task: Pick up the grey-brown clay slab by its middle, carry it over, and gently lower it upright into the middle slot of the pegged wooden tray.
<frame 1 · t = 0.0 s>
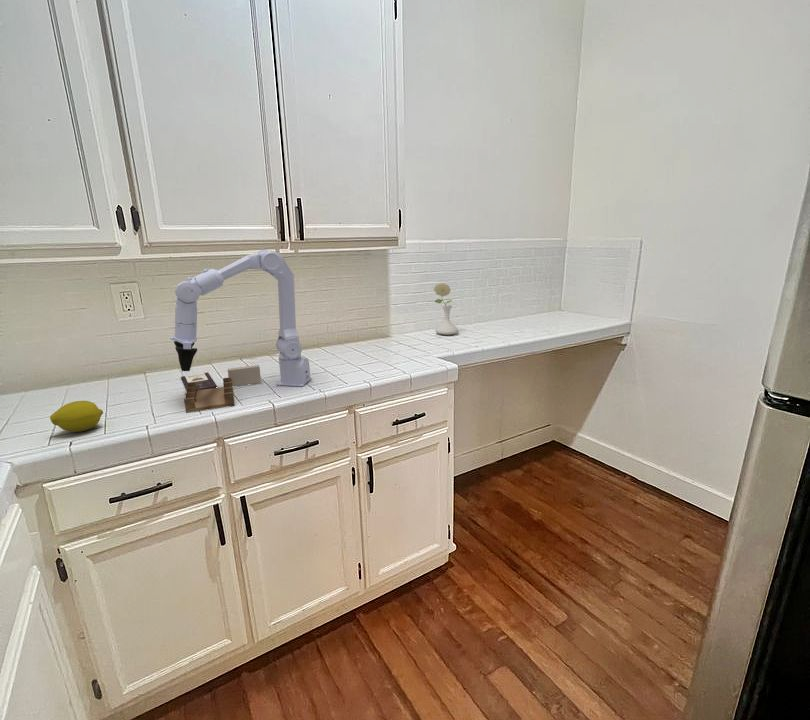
hand: (184, 367, 131), 11 cm above the countertop, tool pointing down, fingers open, 7 cm apart
pegged wooden tray: (211, 399, 134), on the countertop
chocolate bar: (198, 384, 150), on the countertop
flower in vase: (445, 334, 216), on the countertop
lemon: (81, 431, 114), on the countertop
clay slab: (245, 384, 148), on the countertop
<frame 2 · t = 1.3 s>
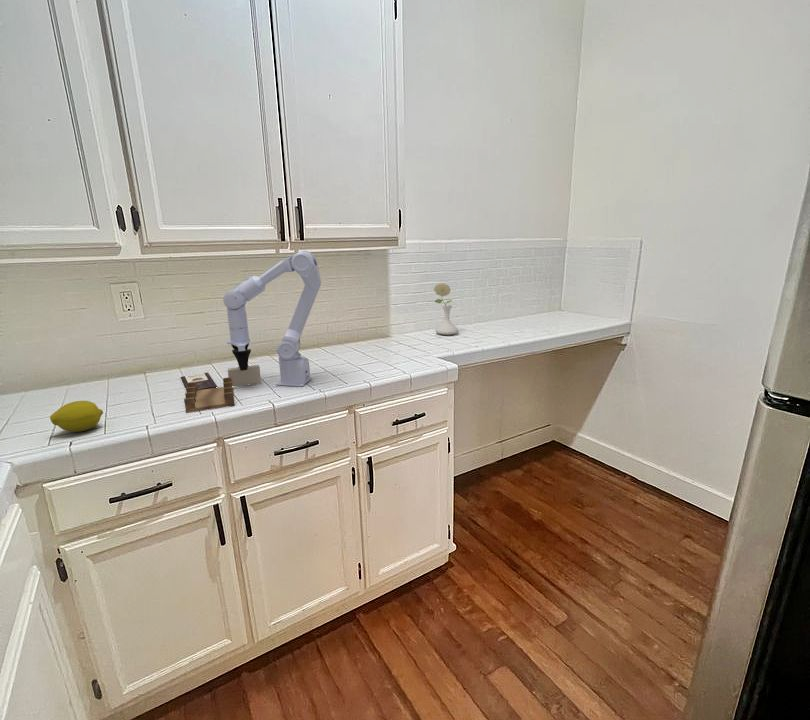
hand: (243, 366, 146), 6 cm above the countertop, tool pointing down, fingers open, 7 cm apart
nothing on the countertop moved.
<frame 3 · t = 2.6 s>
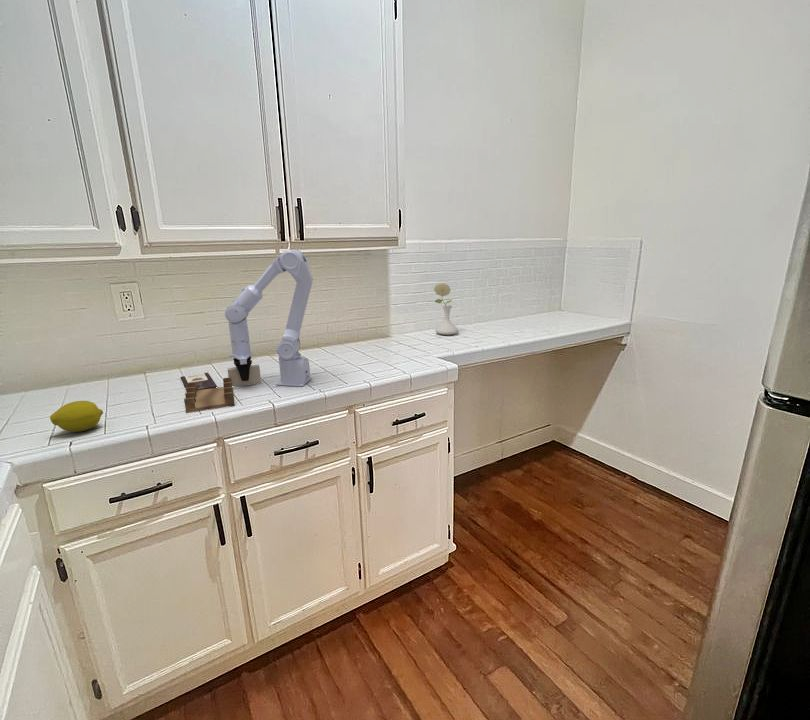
hand: (244, 379, 147), 2 cm above the countertop, tool pointing down, fingers closed on clay slab, 2 cm apart
clay slab: (245, 384, 148), on the countertop, touching gripper
everything else where it was.
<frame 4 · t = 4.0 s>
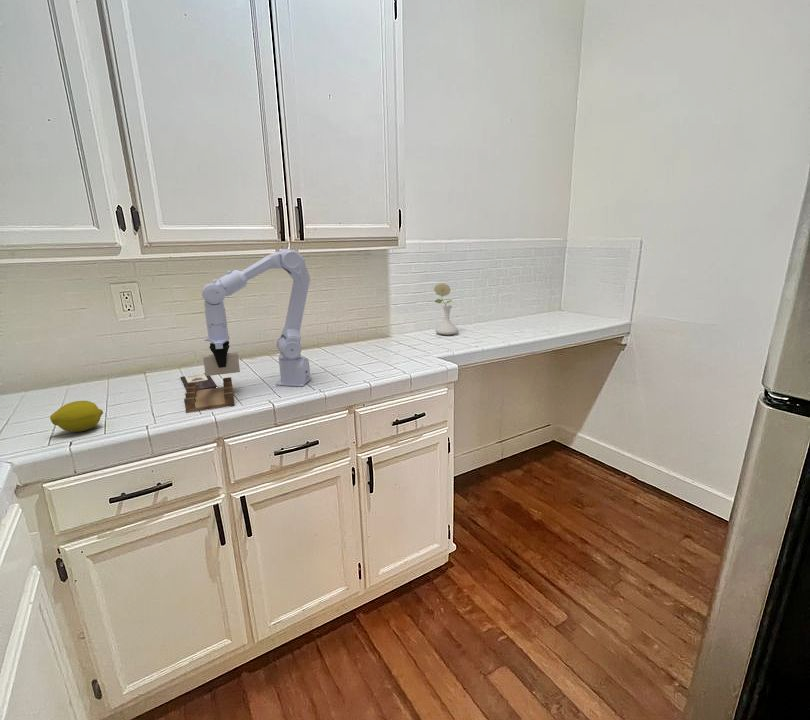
hand: (222, 365, 137), 9 cm above the countertop, tool pointing down, fingers closed on clay slab, 2 cm apart
clay slab: (223, 373, 138), point 7 cm above the countertop, touching gripper
everything else where it was.
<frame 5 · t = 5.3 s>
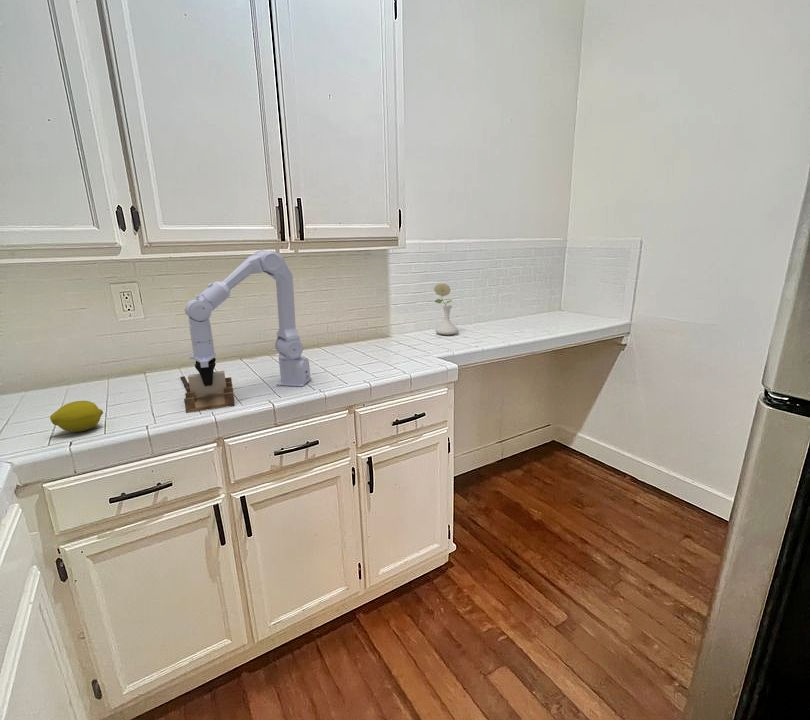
hand: (208, 383, 133), 5 cm above the countertop, tool pointing down, fingers closed on clay slab, 2 cm apart
clay slab: (209, 392, 133), point 2 cm above the countertop, touching gripper
everything else where it was.
when the fingers open (4 cm above the countertop, at t = 5.9 s): clay slab stays where it is, resting on pegged wooden tray.
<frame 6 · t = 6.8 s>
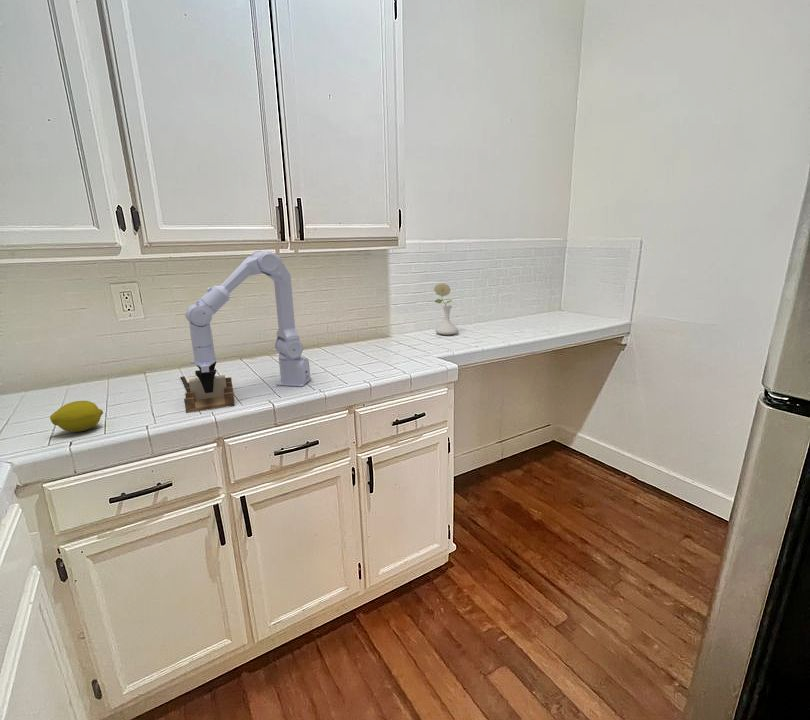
hand: (209, 388, 133), 4 cm above the countertop, tool pointing down, fingers open, 7 cm apart
clay slab: (210, 396, 134), point 1 cm above the countertop, touching pegged wooden tray
everything else where it was.
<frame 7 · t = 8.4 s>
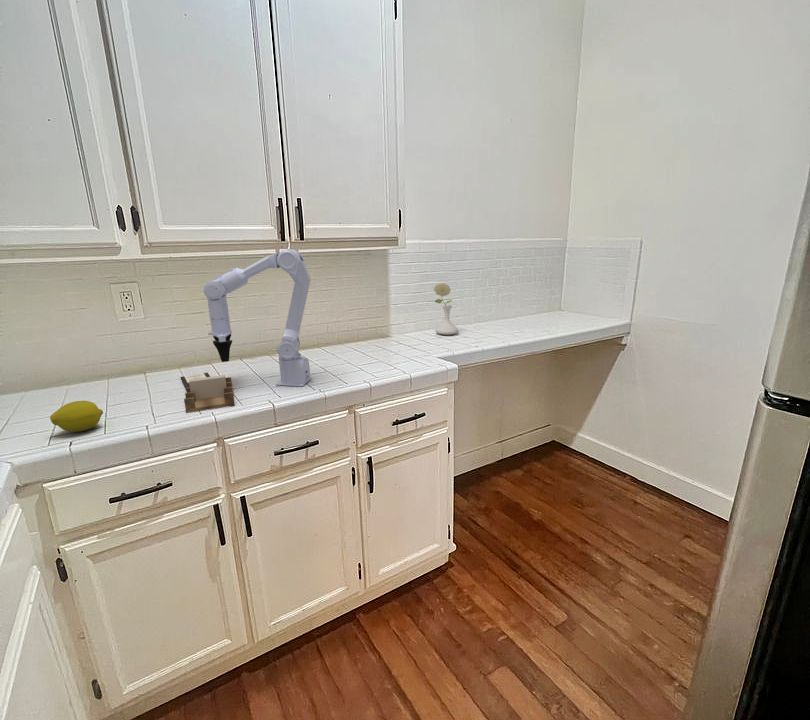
hand: (225, 358, 144), 9 cm above the countertop, tool pointing down, fingers open, 7 cm apart
nothing on the countertop moved.
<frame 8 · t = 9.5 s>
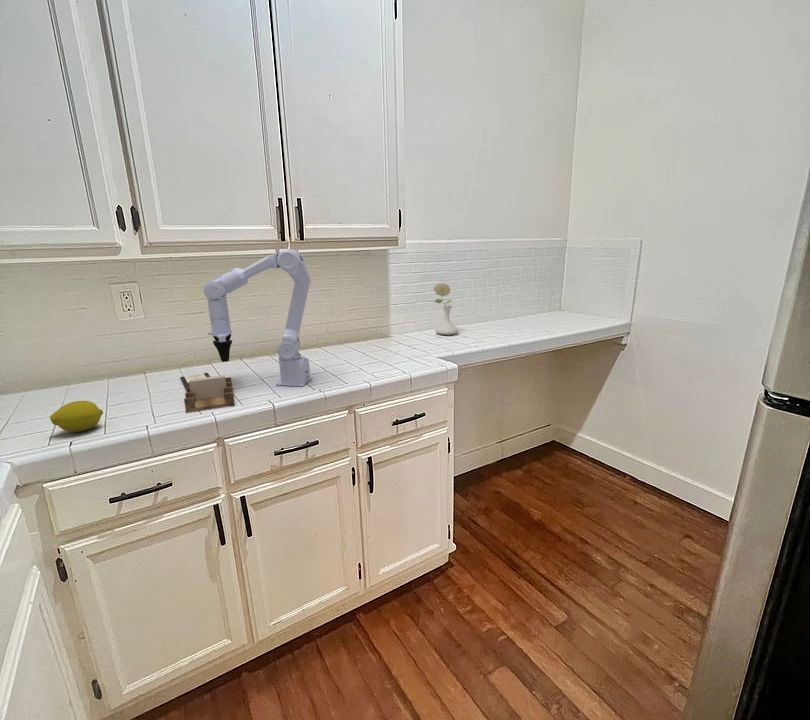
hand: (225, 358, 144), 9 cm above the countertop, tool pointing down, fingers open, 7 cm apart
nothing on the countertop moved.
at the end: clay slab 0.1 cm off-centre on the pegged wooden tray, point 1.0 cm above the pegged wooden tray's base; clay slab tilted 0°; the gripper is holding nothing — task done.
